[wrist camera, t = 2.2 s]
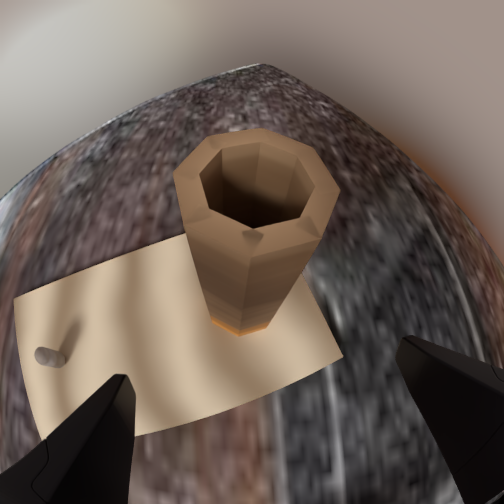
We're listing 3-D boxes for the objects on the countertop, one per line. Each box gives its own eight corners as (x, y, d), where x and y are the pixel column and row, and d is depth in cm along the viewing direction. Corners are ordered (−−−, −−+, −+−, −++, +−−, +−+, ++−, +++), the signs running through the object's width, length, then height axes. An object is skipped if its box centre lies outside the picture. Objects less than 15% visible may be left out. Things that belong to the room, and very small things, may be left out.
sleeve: (286, 287, 21) (350, 164, 9) (256, 346, 18) (302, 283, 7) (228, 258, 21) (228, 116, 10) (194, 313, 19) (144, 205, 8)
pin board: (264, 216, 25) (271, 182, 21) (336, 358, 20) (363, 351, 15) (22, 303, 19) (-8, 285, 15) (53, 445, 14) (21, 451, 9)
